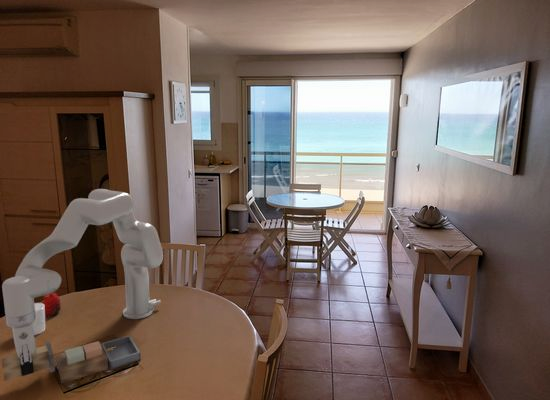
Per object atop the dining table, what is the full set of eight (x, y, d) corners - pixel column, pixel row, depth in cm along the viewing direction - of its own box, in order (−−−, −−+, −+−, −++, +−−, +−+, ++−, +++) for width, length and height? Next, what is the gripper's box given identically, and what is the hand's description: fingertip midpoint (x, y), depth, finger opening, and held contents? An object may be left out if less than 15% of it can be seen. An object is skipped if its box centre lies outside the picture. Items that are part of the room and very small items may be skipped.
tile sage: (81, 352, 136) (81, 345, 135) (84, 359, 132) (84, 353, 131) (65, 357, 133) (64, 350, 132) (67, 364, 129) (67, 358, 128)
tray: (130, 342, 149) (129, 335, 149) (140, 360, 139) (140, 352, 138) (101, 350, 144) (101, 343, 143) (110, 369, 133) (110, 361, 133)
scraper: (51, 356, 132) (49, 340, 131) (55, 371, 125) (53, 354, 124) (3, 370, 125) (1, 353, 123) (4, 386, 118) (2, 368, 116)
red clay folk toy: (54, 308, 173) (51, 276, 170) (65, 312, 170) (62, 279, 167) (37, 315, 167) (34, 282, 164) (48, 319, 164) (45, 285, 161)
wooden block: (100, 352, 143) (100, 342, 142) (108, 368, 134) (107, 358, 133) (56, 365, 135) (55, 355, 134) (61, 383, 126) (60, 372, 125)
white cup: (36, 338, 151) (33, 313, 148) (18, 335, 152) (15, 311, 150) (51, 327, 158) (49, 304, 156) (34, 324, 160) (32, 301, 157)
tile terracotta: (99, 347, 139) (98, 341, 138) (102, 354, 135) (101, 348, 134) (83, 352, 136) (82, 345, 135) (86, 359, 132) (85, 352, 131)
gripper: (38, 325, 116) (43, 380, 120) (33, 303, 129) (38, 353, 133) (7, 332, 112) (14, 389, 116) (5, 308, 125) (11, 360, 129)
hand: (27, 369), depth 124 cm, fingers closed on scraper, 3 cm apart
